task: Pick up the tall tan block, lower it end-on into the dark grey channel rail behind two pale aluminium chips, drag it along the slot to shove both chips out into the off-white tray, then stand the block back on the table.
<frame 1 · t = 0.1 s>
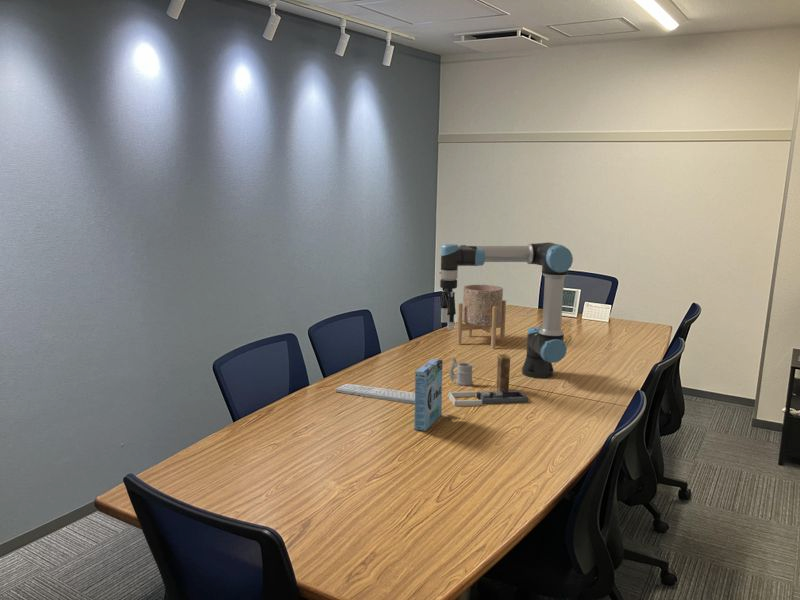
hand: (447, 325, 300), 28 cm above the table, fingers open, 13 cm apart
tan block: (502, 392, 297), on the table
tray: (464, 402, 282), on the table
mug: (460, 384, 307), on the table
channel rail: (501, 401, 284), on the table
gum box: (428, 422, 260), on the table
planter: (480, 342, 385), on the table
chip b: (484, 400, 283), point 1 cm above the table, touching channel rail
chip a: (497, 399, 284), point 1 cm above the table, touching channel rail
keyboard: (386, 396, 291), on the table
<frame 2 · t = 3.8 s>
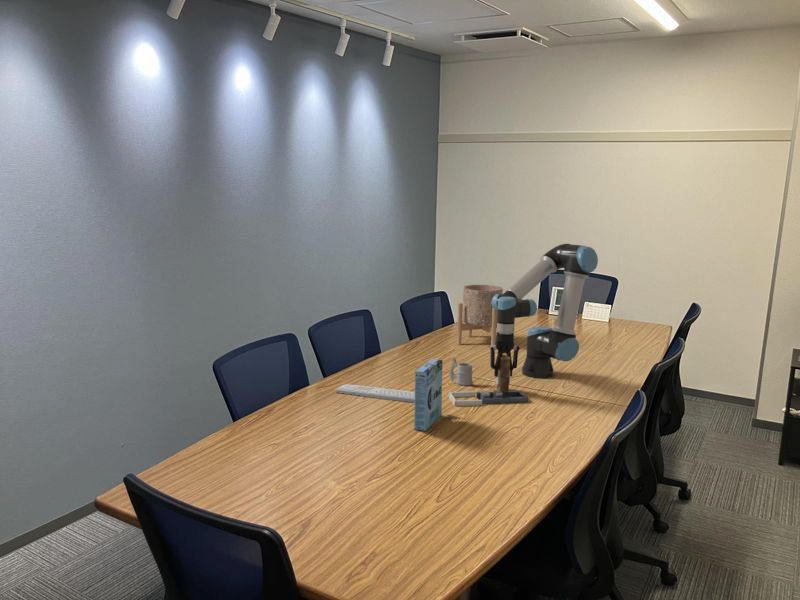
hand: (502, 383, 296), 4 cm above the table, fingers closed on tan block, 4 cm apart
tan block: (502, 392, 297), on the table, touching gripper
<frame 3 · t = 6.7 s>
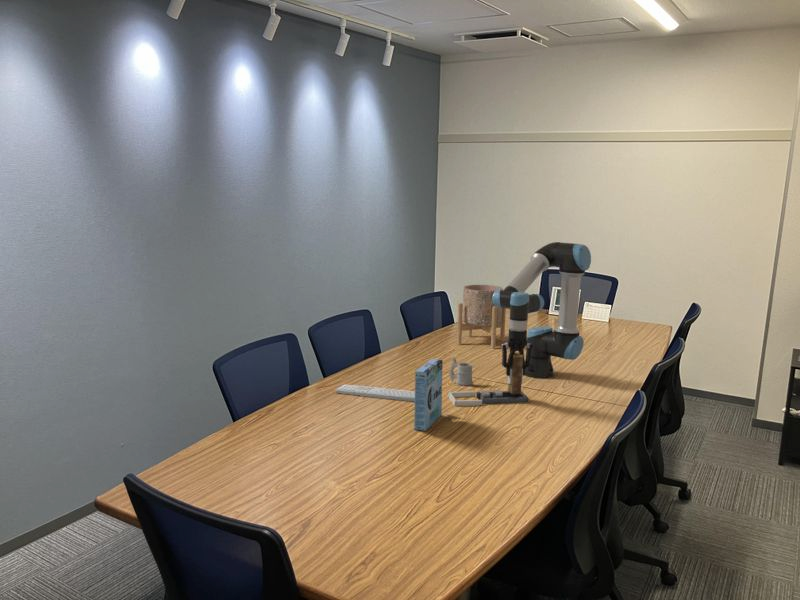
hand: (514, 382, 284), 8 cm above the table, fingers closed on tan block, 4 cm apart
tan block: (514, 392, 284), point 4 cm above the table, touching gripper
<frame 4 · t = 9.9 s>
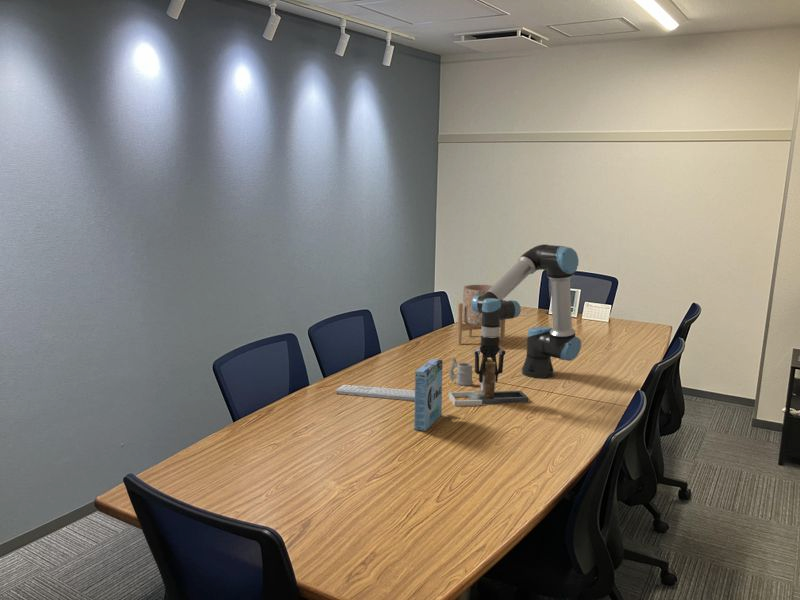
hand: (487, 389, 282), 6 cm above the table, fingers closed on tan block, 4 cm apart
tan block: (487, 398, 283), point 2 cm above the table, touching chip a, gripper
chip b: (472, 401, 282), point 1 cm above the table, touching chip a
chip a: (479, 400, 283), point 1 cm above the table, touching channel rail, chip b, tan block
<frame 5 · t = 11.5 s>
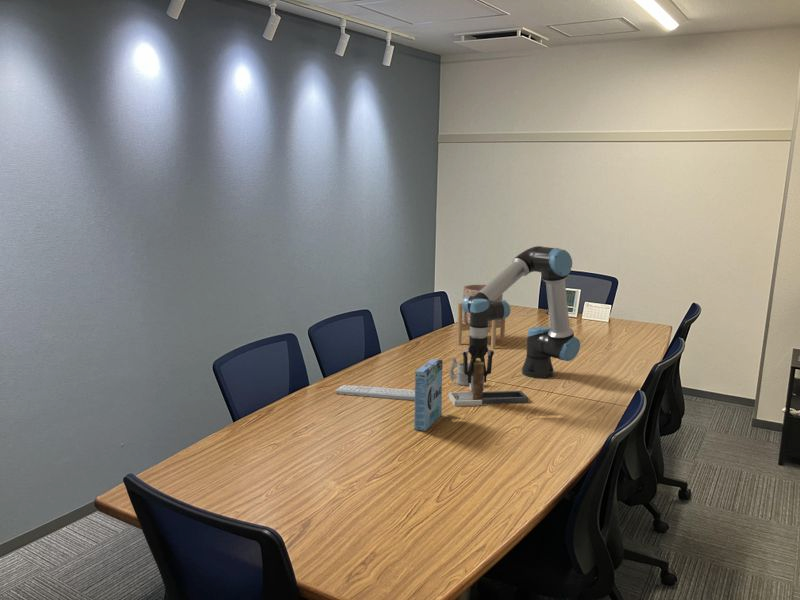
hand: (476, 389, 282), 6 cm above the table, fingers closed on tan block, 4 cm apart
tan block: (476, 399, 282), point 1 cm above the table, touching chip a, gripper
chip b: (461, 402, 282), resting on tray, touching chip a
chip a: (468, 401, 282), resting on tray, touching chip b, tan block
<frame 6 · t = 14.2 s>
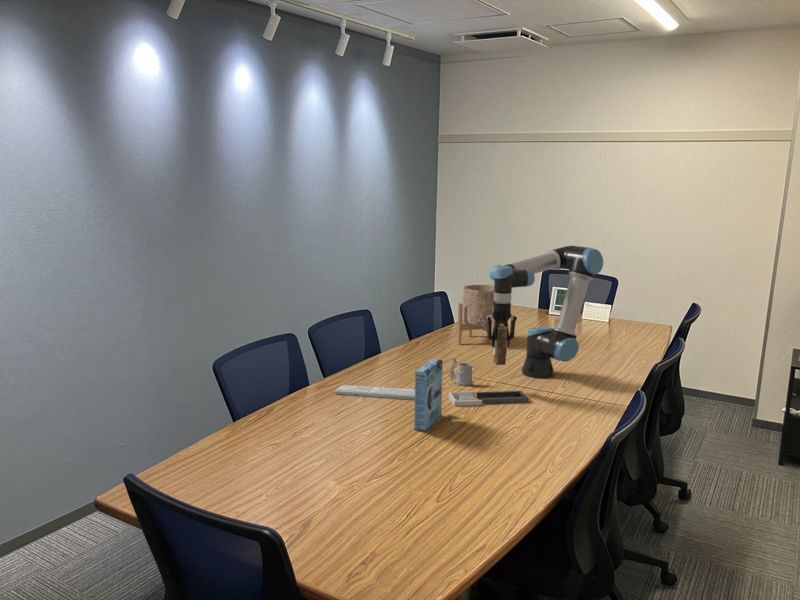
hand: (499, 354, 293), 18 cm above the table, fingers closed on tan block, 4 cm apart
tan block: (499, 363, 294), point 14 cm above the table, touching gripper
chip b: (461, 402, 282), resting on tray
chip a: (468, 401, 282), resting on tray
when the fingers open (5 cm above the table, at t = 16.6 s): tan block stays where it is, on the table.
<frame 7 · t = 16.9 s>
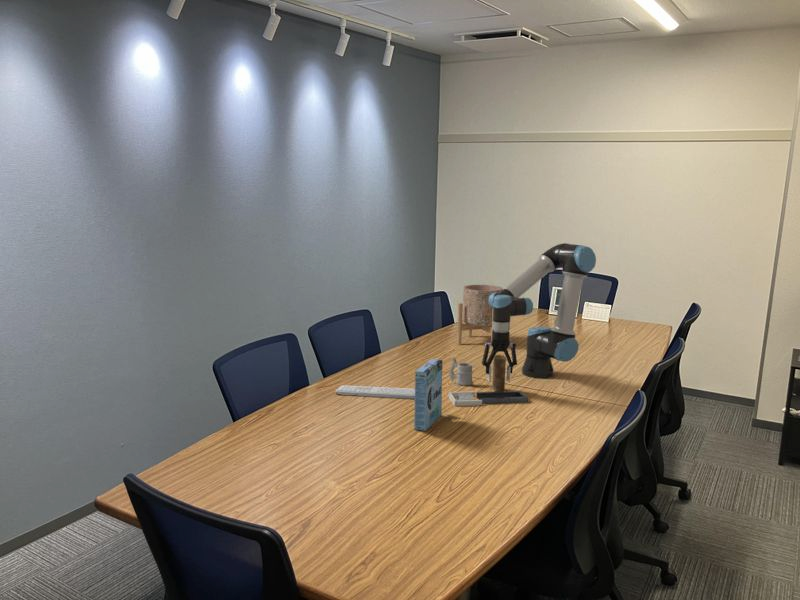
hand: (498, 380, 295), 6 cm above the table, fingers open, 8 cm apart
tan block: (498, 392, 296), on the table
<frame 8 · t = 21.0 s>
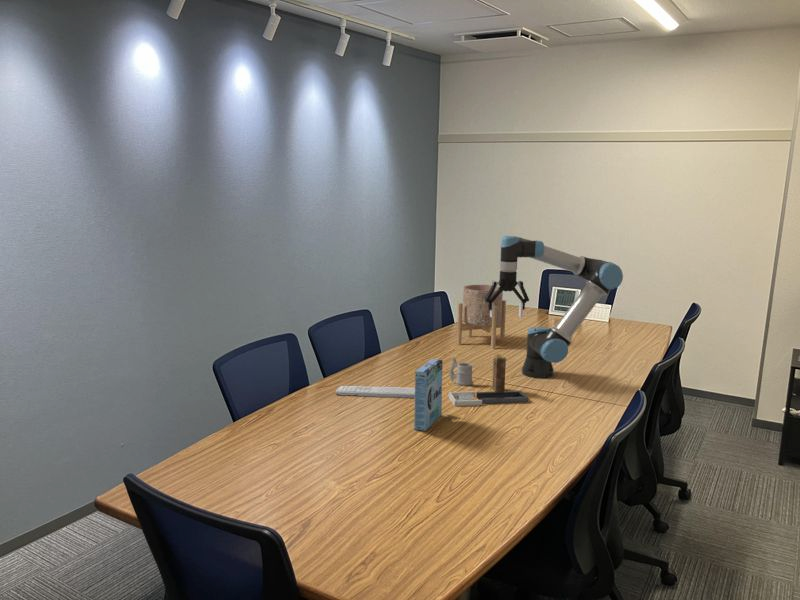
hand: (506, 316, 303), 32 cm above the table, fingers open, 13 cm apart
at the end: chip a inside the target area on the tray (1.6 cm from its centre), point 0.5 cm above the tray's base; chip b inside the target area on the tray (1.4 cm from its centre), point 0.5 cm above the tray's base; tan block tilted 0° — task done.
